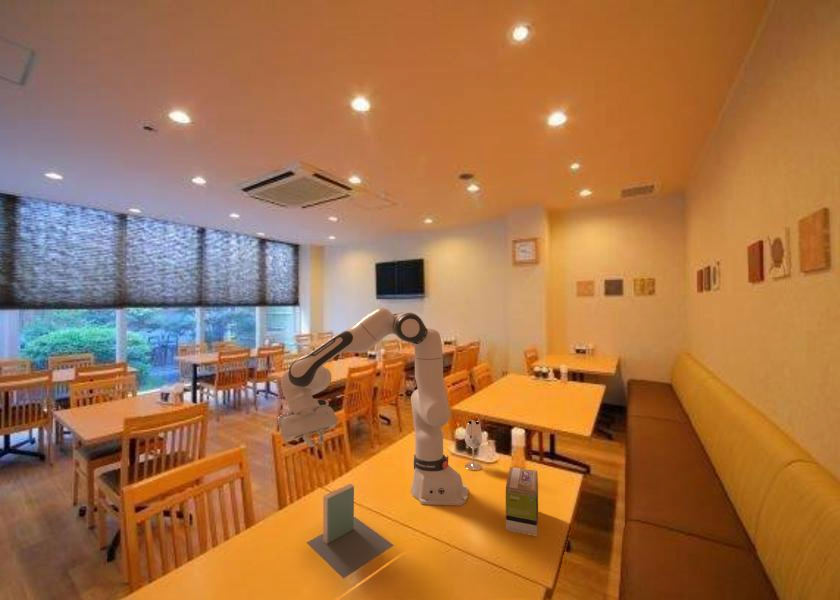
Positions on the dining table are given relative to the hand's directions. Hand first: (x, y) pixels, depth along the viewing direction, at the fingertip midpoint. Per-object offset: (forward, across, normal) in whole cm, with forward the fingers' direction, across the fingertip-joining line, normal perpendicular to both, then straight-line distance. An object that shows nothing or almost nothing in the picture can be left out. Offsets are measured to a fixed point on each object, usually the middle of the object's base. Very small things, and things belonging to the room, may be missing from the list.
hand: (317, 444), depth 122 cm
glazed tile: (+27, 0, +8) cm, 28 cm away
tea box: (+54, +48, -18) cm, 75 cm away
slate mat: (+32, 0, +4) cm, 32 cm away
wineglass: (+30, +69, +6) cm, 75 cm away
